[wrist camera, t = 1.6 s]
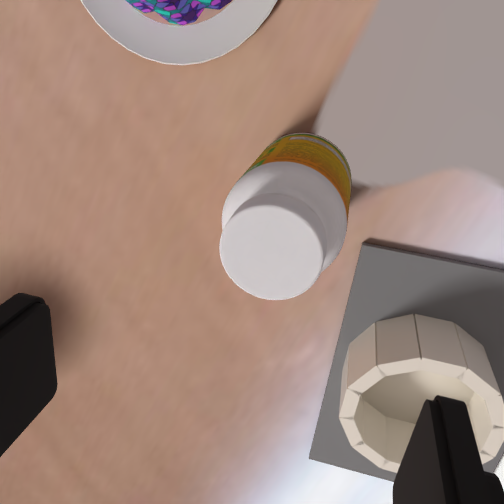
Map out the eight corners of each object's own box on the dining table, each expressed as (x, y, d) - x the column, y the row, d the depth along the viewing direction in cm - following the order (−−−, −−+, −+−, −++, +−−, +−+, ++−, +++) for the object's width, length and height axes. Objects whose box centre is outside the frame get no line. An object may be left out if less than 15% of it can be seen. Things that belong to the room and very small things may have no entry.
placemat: (362, 242, 26) (362, 244, 26) (588, 286, 24) (591, 290, 24) (309, 454, 34) (308, 458, 34) (474, 499, 32) (475, 504, 32)
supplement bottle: (275, 115, 24) (224, 160, 16) (369, 154, 24) (370, 221, 15) (243, 202, 27) (184, 283, 18) (327, 238, 26) (308, 337, 18)
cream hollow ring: (360, 302, 27) (359, 343, 24) (511, 334, 26) (534, 383, 22) (332, 405, 31) (328, 454, 28) (462, 438, 30) (475, 494, 26)
